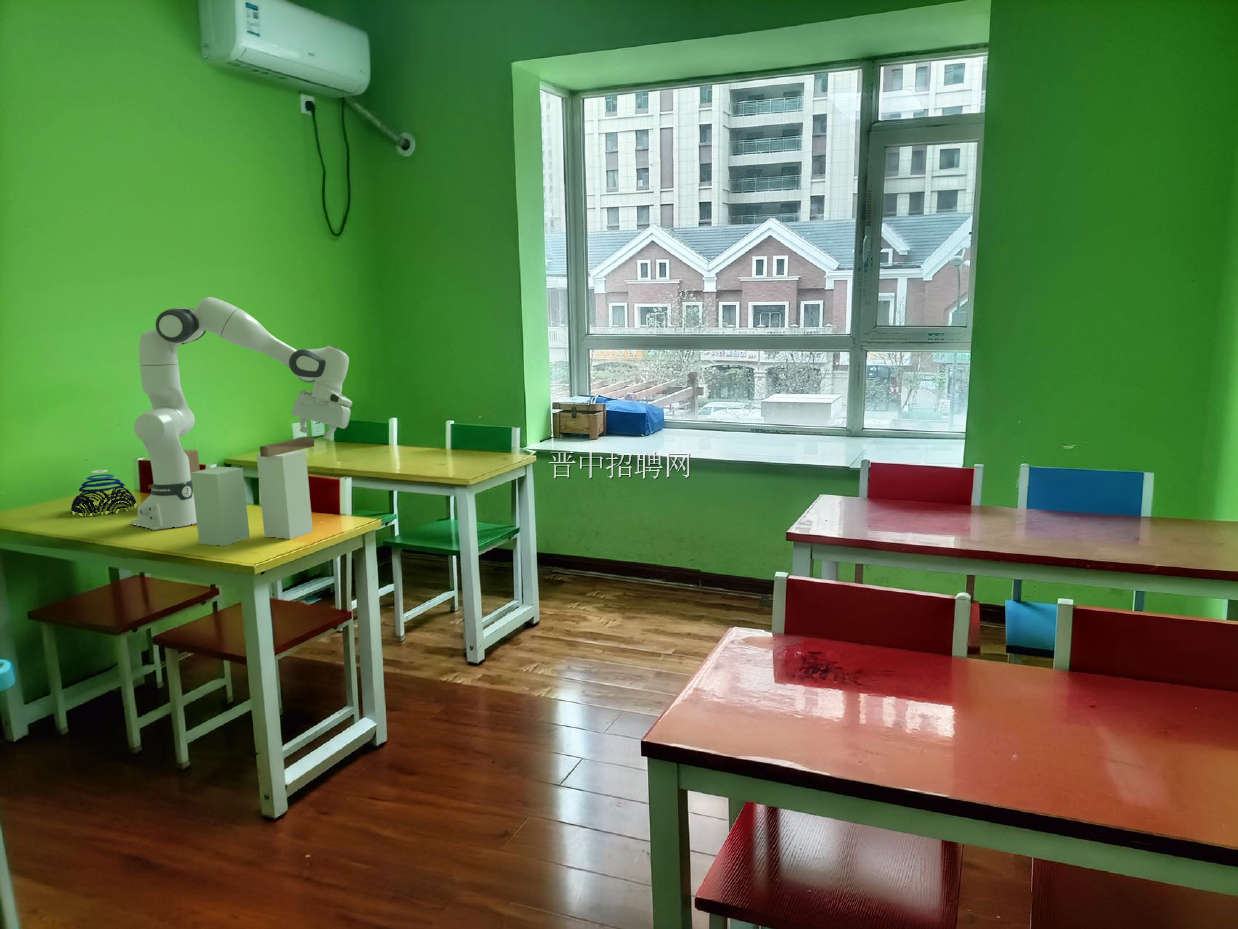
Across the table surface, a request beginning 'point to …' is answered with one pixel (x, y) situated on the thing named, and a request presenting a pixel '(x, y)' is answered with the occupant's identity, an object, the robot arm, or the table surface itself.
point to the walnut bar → (286, 446)
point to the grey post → (285, 495)
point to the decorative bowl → (86, 500)
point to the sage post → (220, 505)
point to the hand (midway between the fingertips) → (314, 435)
